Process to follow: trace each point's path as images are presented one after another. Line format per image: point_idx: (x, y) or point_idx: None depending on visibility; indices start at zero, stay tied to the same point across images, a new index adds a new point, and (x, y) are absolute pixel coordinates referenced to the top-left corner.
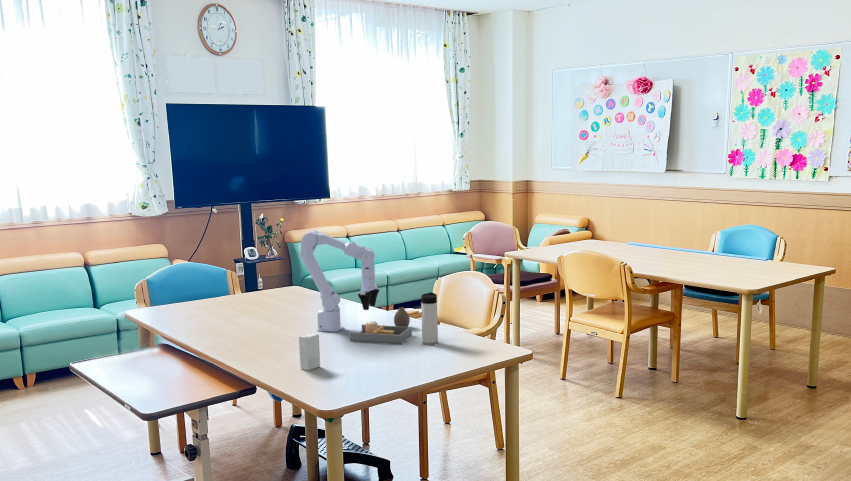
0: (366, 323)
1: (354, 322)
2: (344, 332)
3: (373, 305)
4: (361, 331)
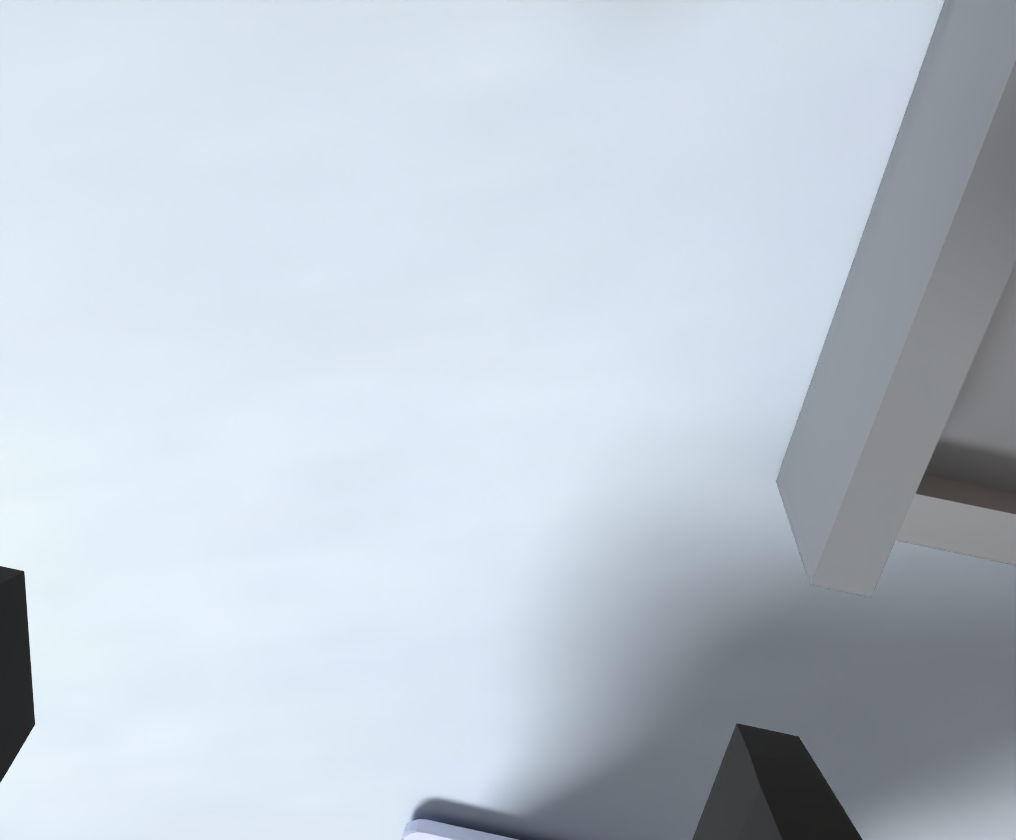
0: None
1: None
2: None
3: (5, 624)
4: (1001, 516)
